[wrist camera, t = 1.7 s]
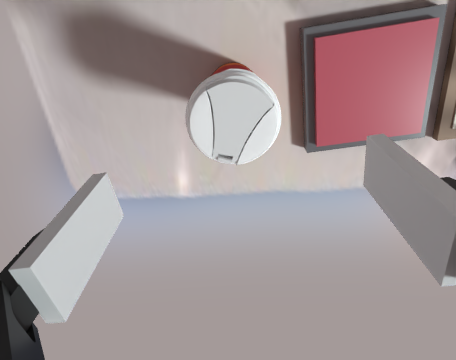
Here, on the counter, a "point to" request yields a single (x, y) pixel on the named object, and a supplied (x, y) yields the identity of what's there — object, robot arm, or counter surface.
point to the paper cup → (233, 115)
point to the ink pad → (369, 77)
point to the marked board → (448, 96)
